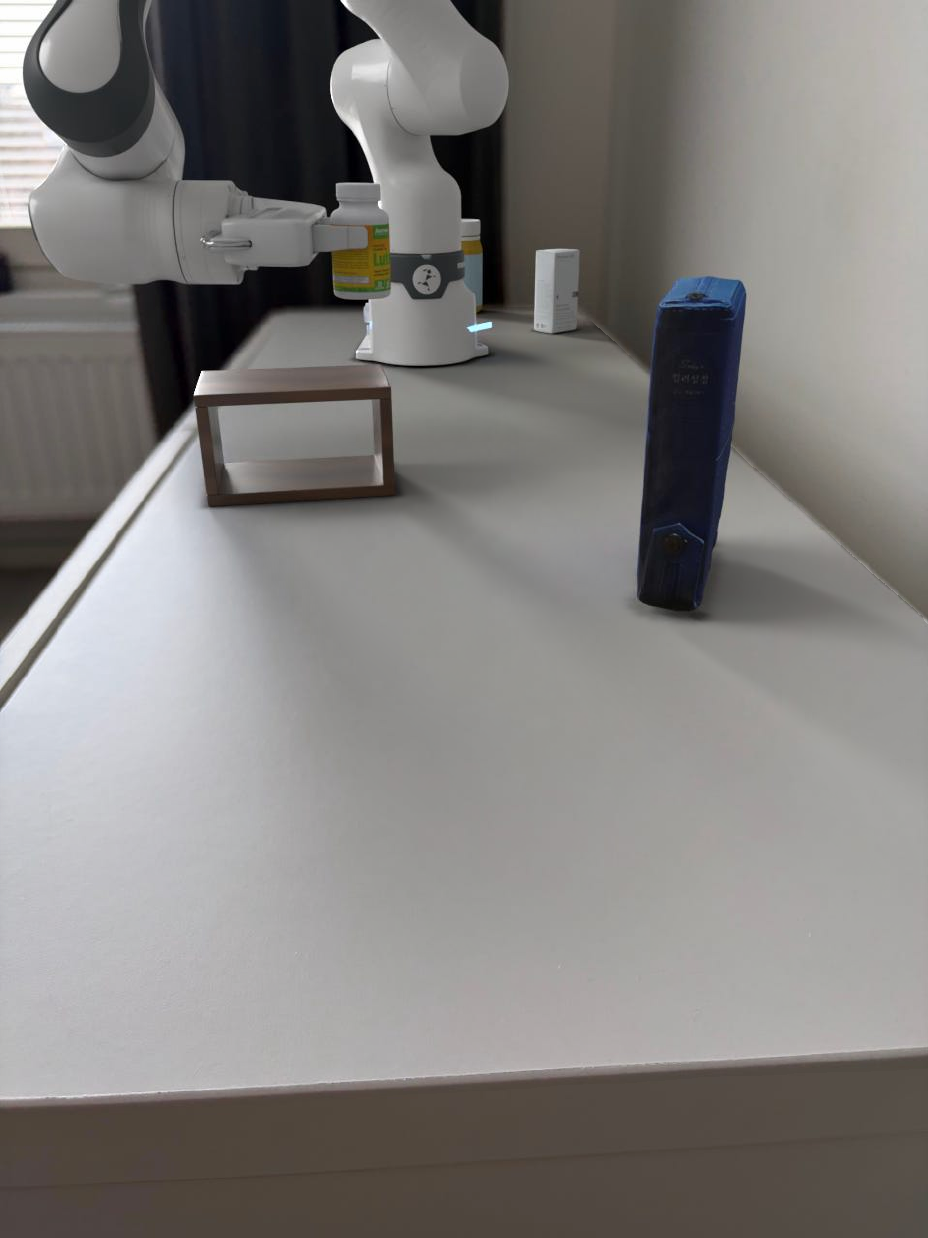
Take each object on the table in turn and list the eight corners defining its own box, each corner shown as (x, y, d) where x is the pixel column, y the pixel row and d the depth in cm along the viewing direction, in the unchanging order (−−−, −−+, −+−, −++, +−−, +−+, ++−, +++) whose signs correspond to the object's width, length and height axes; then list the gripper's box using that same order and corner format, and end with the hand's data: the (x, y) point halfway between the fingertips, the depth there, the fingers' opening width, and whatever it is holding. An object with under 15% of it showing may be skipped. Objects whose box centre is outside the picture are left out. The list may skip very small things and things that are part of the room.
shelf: (214, 473, 90) (201, 370, 85) (385, 464, 92) (381, 364, 88) (207, 506, 82) (193, 395, 77) (395, 495, 84) (391, 386, 80)
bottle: (439, 313, 168) (438, 221, 162) (446, 307, 175) (446, 218, 168) (478, 314, 167) (479, 222, 161) (484, 308, 174) (485, 218, 167)
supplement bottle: (382, 301, 88) (378, 185, 84) (326, 299, 89) (319, 184, 85) (397, 293, 93) (395, 182, 88) (344, 291, 94) (339, 181, 89)
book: (705, 624, 62) (745, 300, 53) (623, 613, 63) (648, 297, 54) (720, 542, 74) (754, 269, 65) (650, 535, 76) (675, 266, 67)
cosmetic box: (553, 334, 151) (556, 252, 146) (532, 330, 154) (534, 250, 149) (578, 329, 155) (582, 249, 149) (557, 325, 158) (560, 247, 152)
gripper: (190, 202, 77) (363, 203, 78) (233, 189, 95) (372, 190, 96) (199, 285, 80) (366, 285, 81) (239, 257, 98) (375, 257, 99)
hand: (369, 233), depth 88 cm, fingers closed on supplement bottle, 5 cm apart
